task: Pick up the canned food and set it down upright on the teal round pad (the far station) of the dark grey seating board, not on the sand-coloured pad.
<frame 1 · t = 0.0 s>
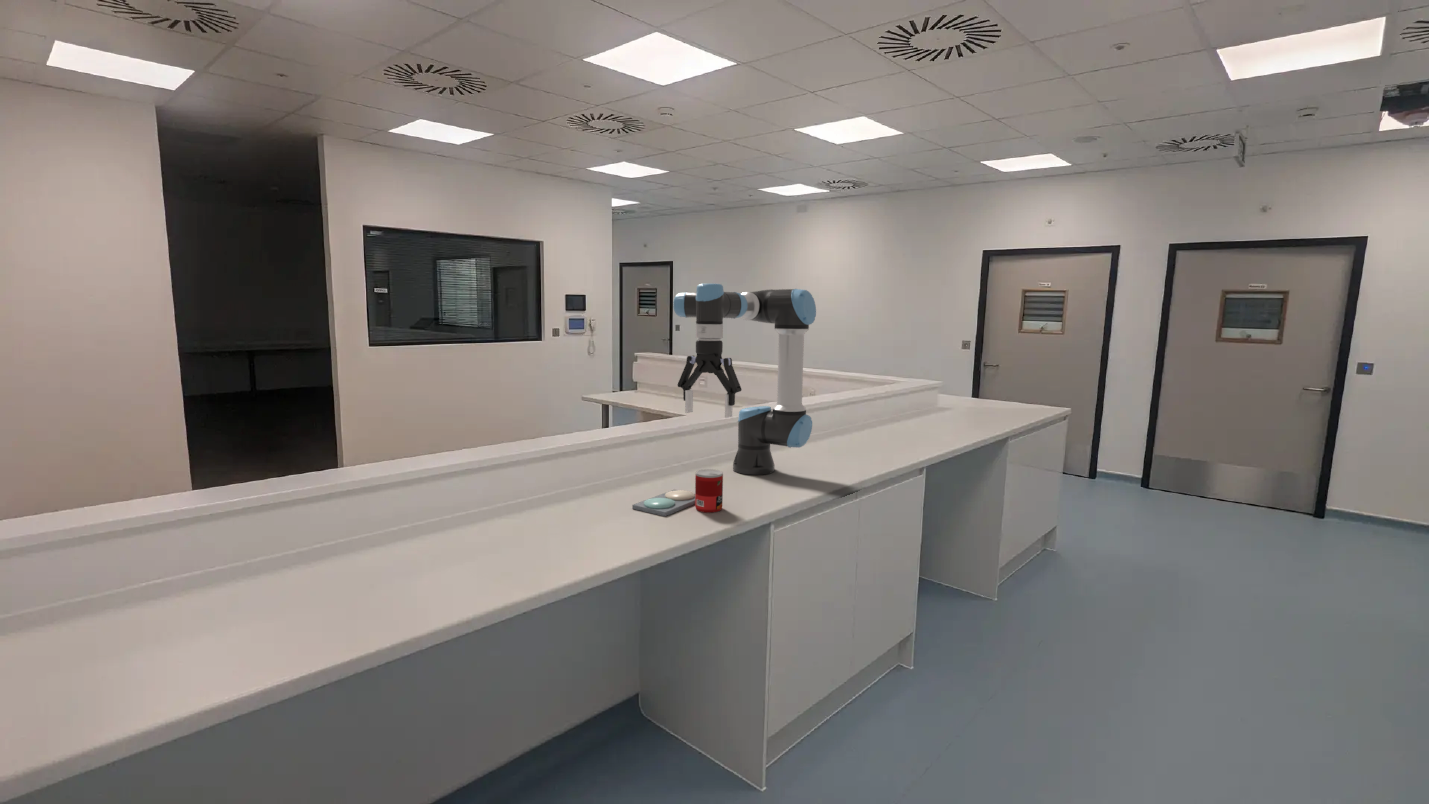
hand: (708, 414, 185), 28 cm above the table, fingers open, 13 cm apart
canned food: (708, 509, 190), on the table
seating board: (669, 504, 194), on the table
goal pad: (659, 508, 190), resting on seating board
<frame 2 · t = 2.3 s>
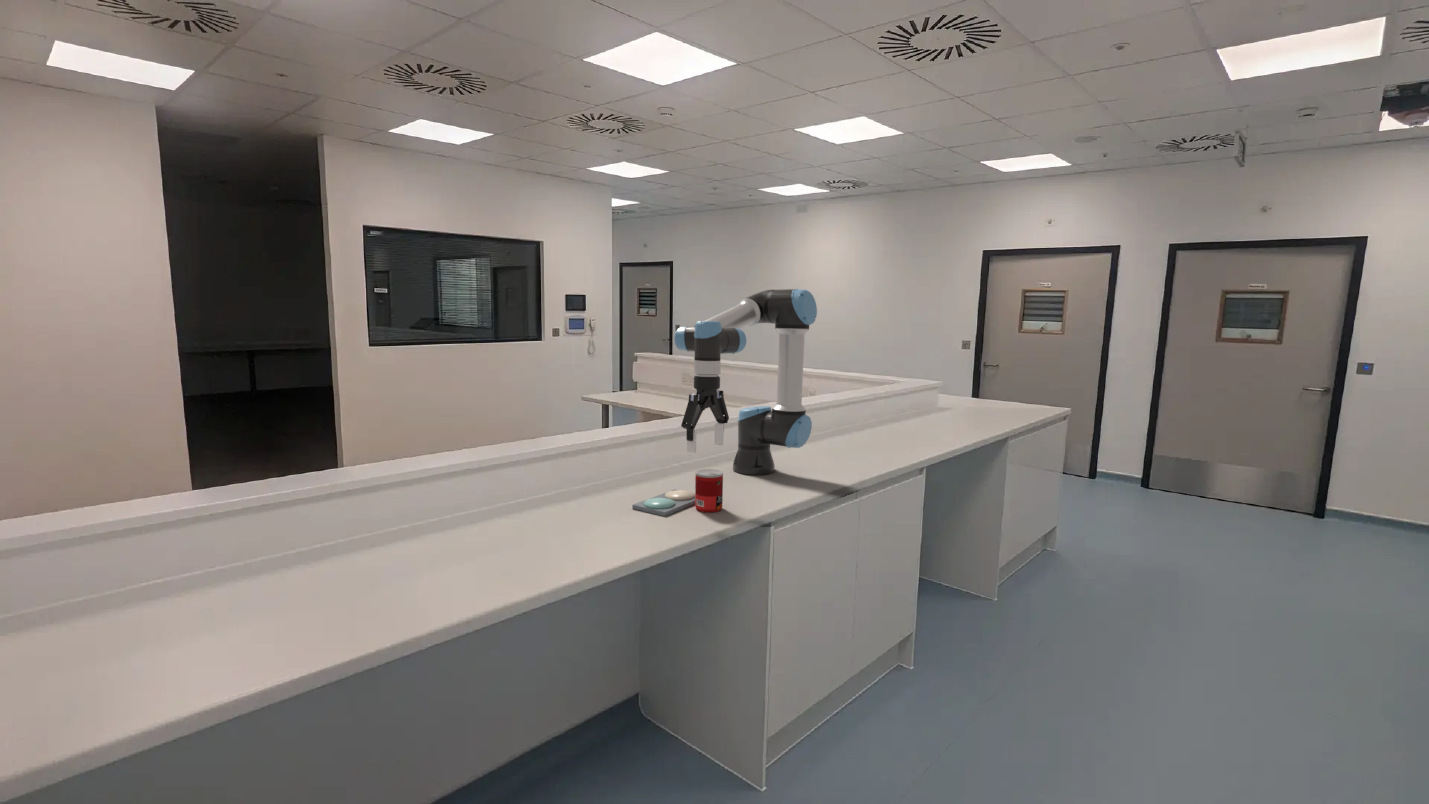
hand: (705, 448, 188), 18 cm above the table, fingers open, 13 cm apart
nothing on the table moved.
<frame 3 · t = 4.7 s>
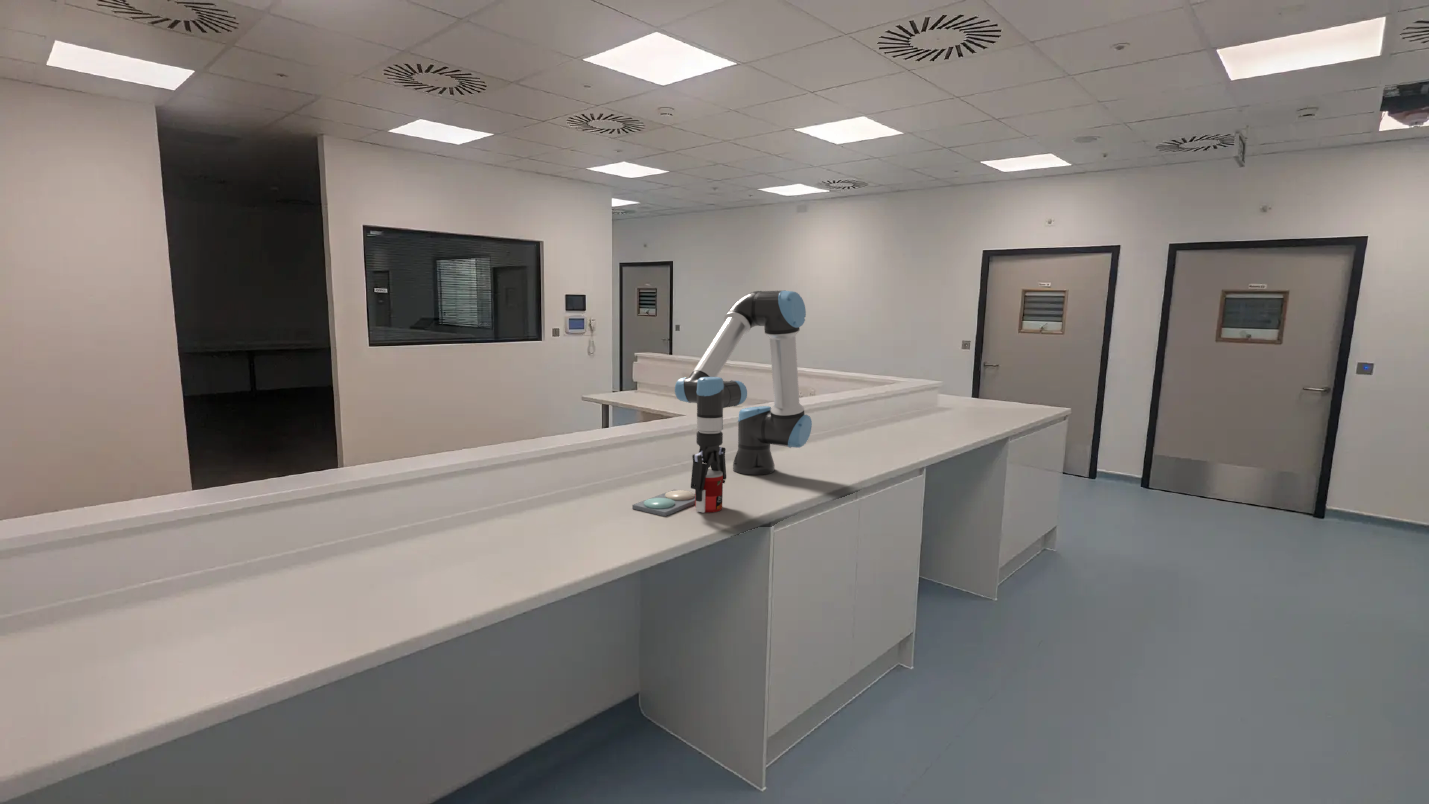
hand: (708, 507, 190), 0 cm above the table, fingers closed on canned food, 8 cm apart
canned food: (708, 509, 190), on the table, touching gripper
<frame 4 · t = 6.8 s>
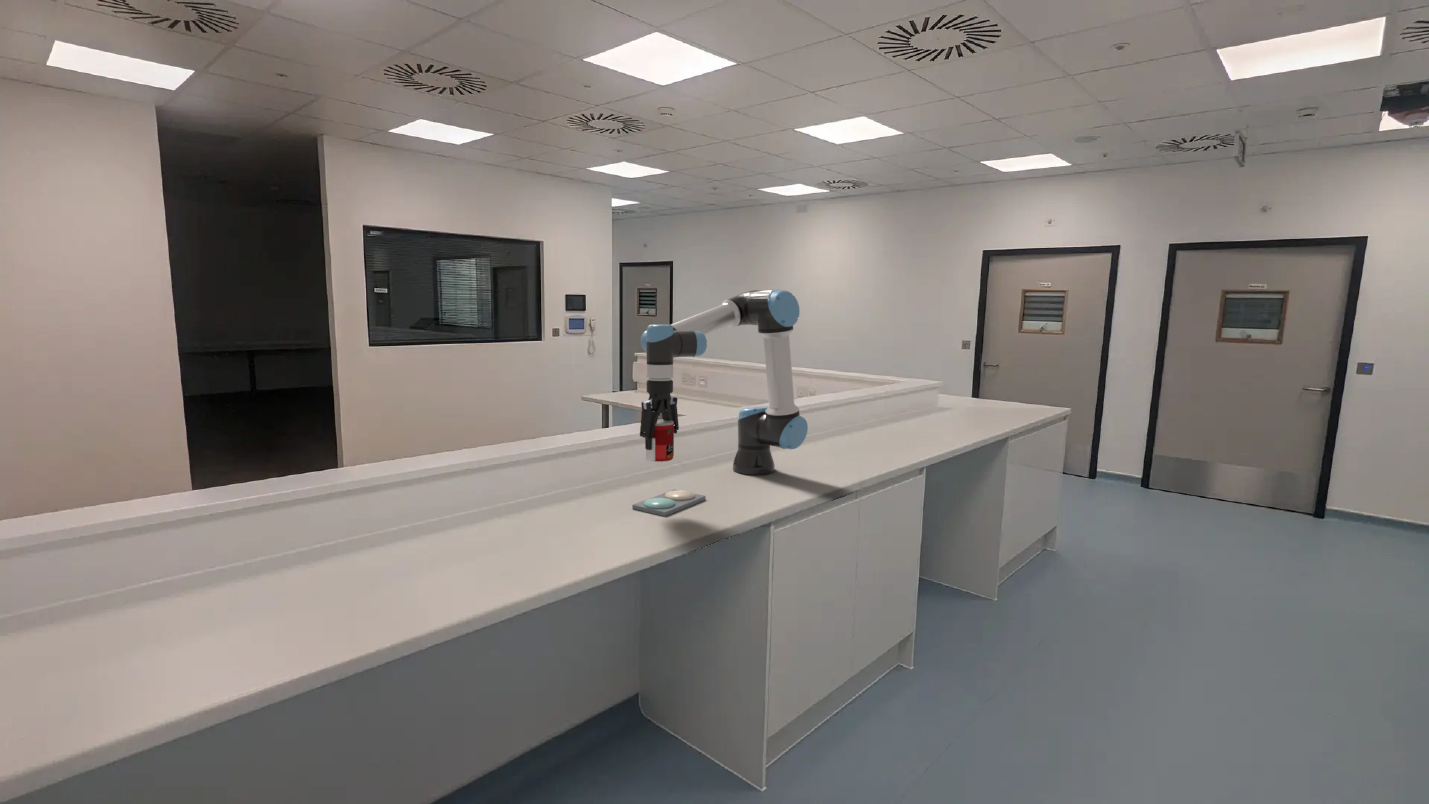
hand: (659, 457, 187), 15 cm above the table, fingers closed on canned food, 8 cm apart
canned food: (659, 459, 187), point 15 cm above the table, touching gripper
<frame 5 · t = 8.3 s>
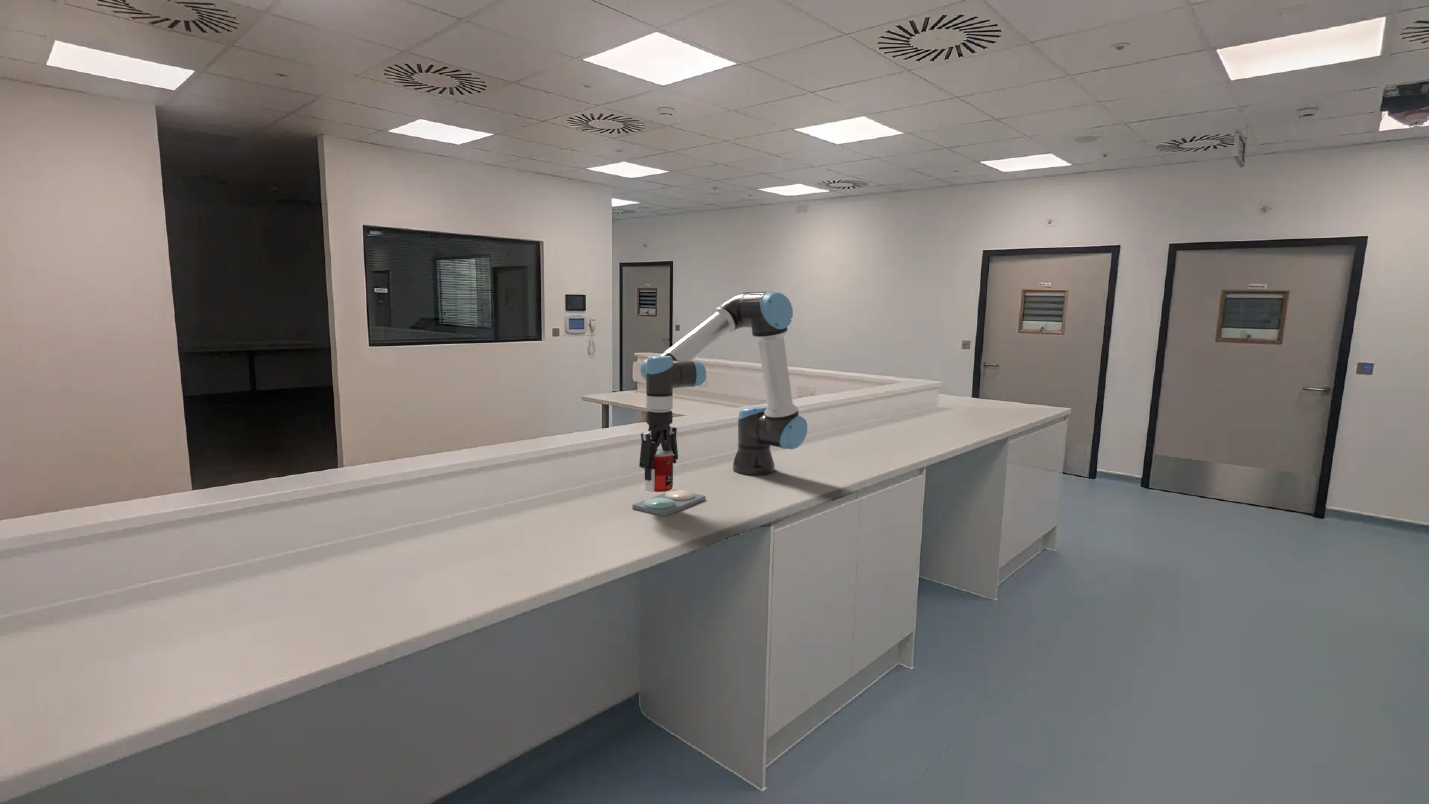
hand: (659, 487, 189), 6 cm above the table, fingers closed on canned food, 8 cm apart
canned food: (659, 489, 189), point 6 cm above the table, touching gripper
when the fingers open (3 cm above the table, at t = 9.4 s): canned food stays where it is, resting on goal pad.
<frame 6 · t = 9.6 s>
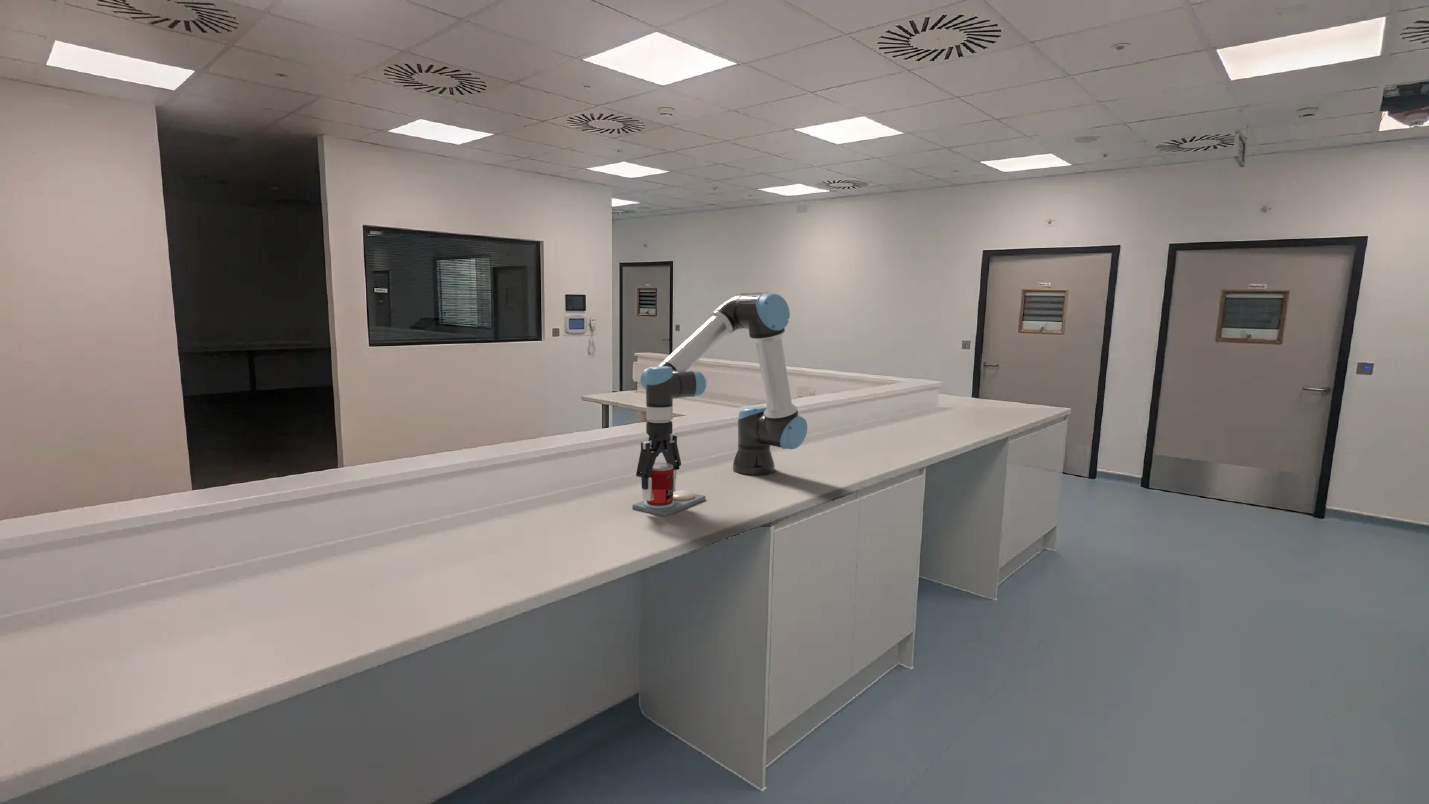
hand: (659, 495, 189), 4 cm above the table, fingers open, 10 cm apart
canned food: (659, 502, 189), point 2 cm above the table, touching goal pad
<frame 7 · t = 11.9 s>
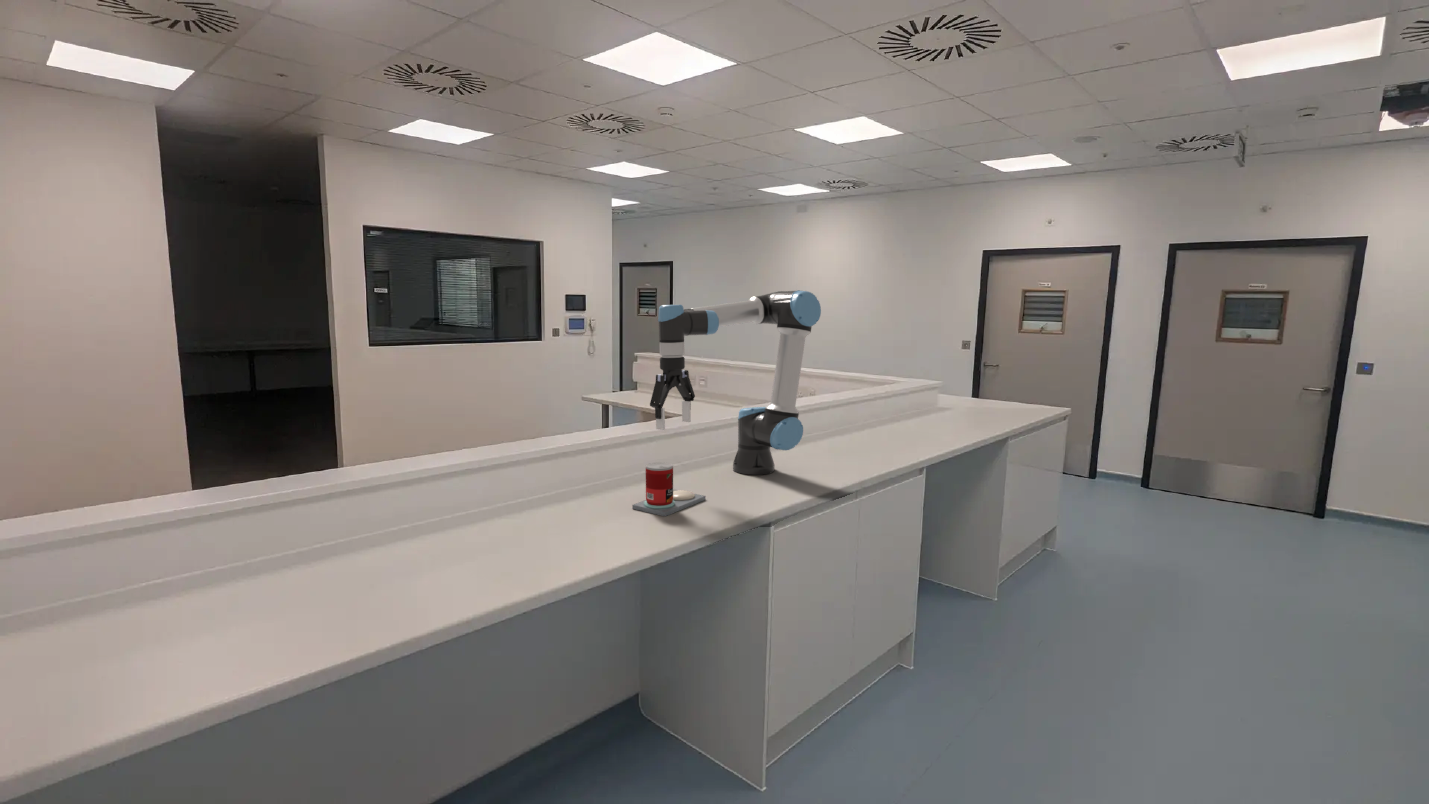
hand: (673, 425, 199), 22 cm above the table, fingers open, 13 cm apart
nothing on the table moved.
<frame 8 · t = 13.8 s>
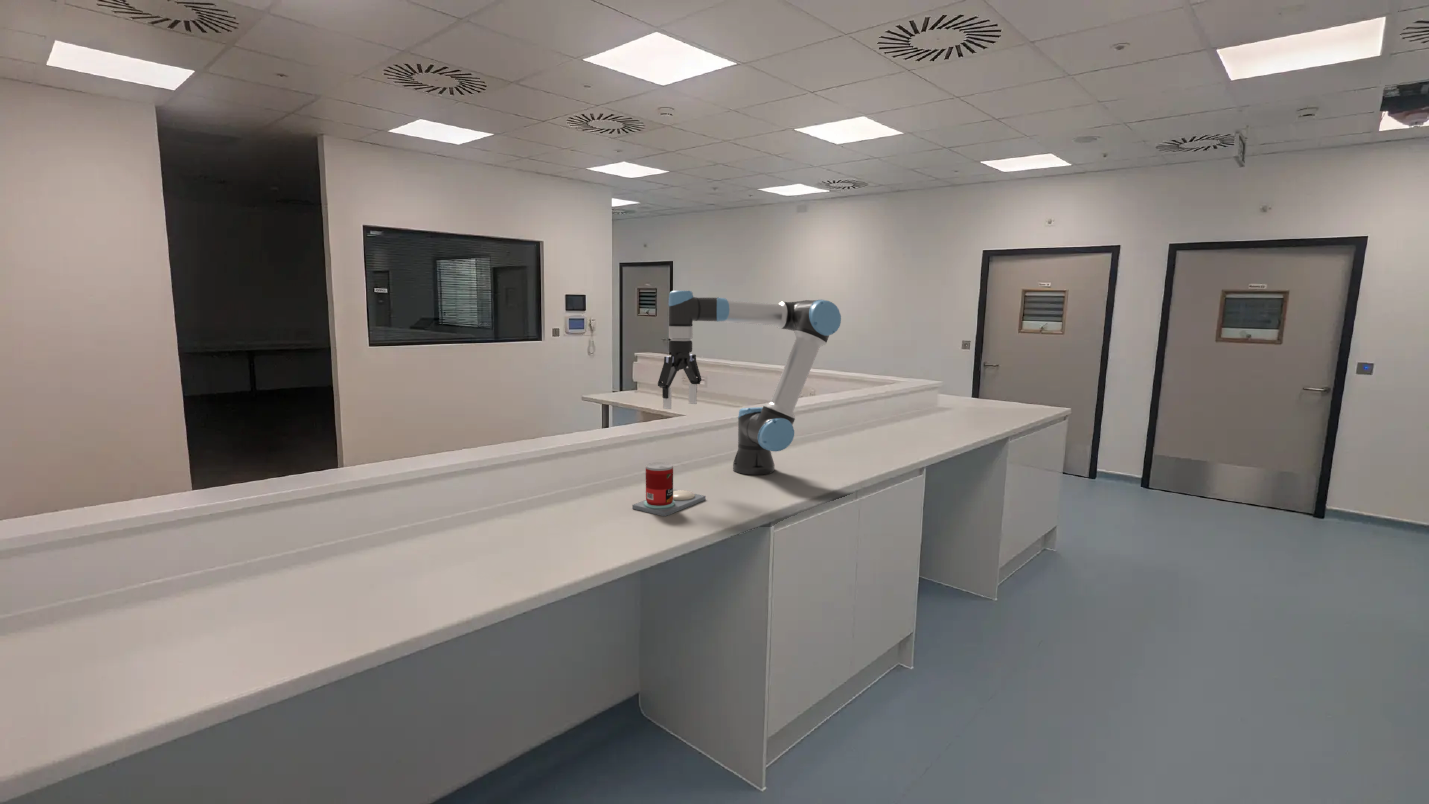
hand: (680, 406, 209), 27 cm above the table, fingers open, 13 cm apart
nothing on the table moved.
at the end: canned food 0.1 cm from the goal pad (horizontally); canned food tilted 0°; canned food touching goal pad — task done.
